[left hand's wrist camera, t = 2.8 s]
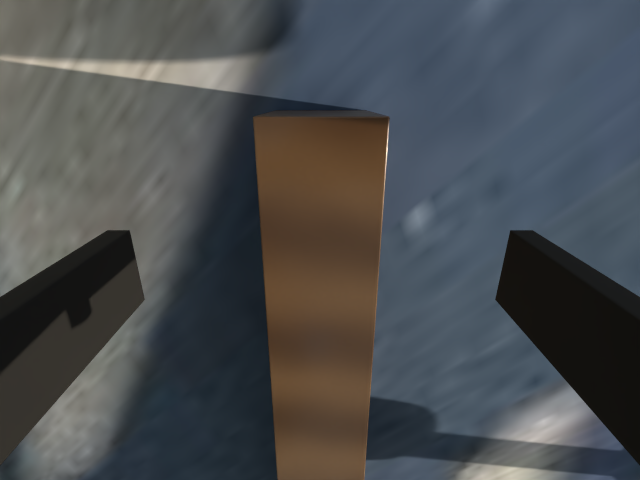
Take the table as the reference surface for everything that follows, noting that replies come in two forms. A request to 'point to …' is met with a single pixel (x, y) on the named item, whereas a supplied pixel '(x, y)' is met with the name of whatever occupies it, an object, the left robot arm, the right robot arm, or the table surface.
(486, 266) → the table surface
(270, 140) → the post
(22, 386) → the left robot arm
